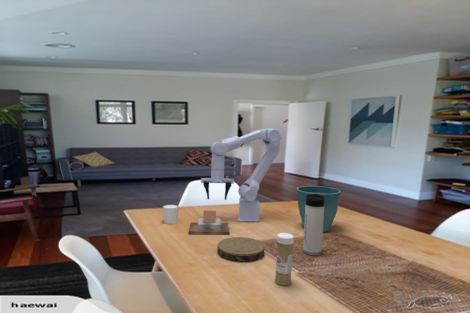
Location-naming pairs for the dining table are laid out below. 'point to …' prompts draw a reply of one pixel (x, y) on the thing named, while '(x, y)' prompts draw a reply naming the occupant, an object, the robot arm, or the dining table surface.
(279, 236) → the sprinkles bottle
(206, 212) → the terracotta block
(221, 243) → the wood slice coaster
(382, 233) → the dining table surface
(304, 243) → the travel mug
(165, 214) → the grey cup
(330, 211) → the flower pot
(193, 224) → the walnut base
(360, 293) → the dining table surface
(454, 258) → the dining table surface
